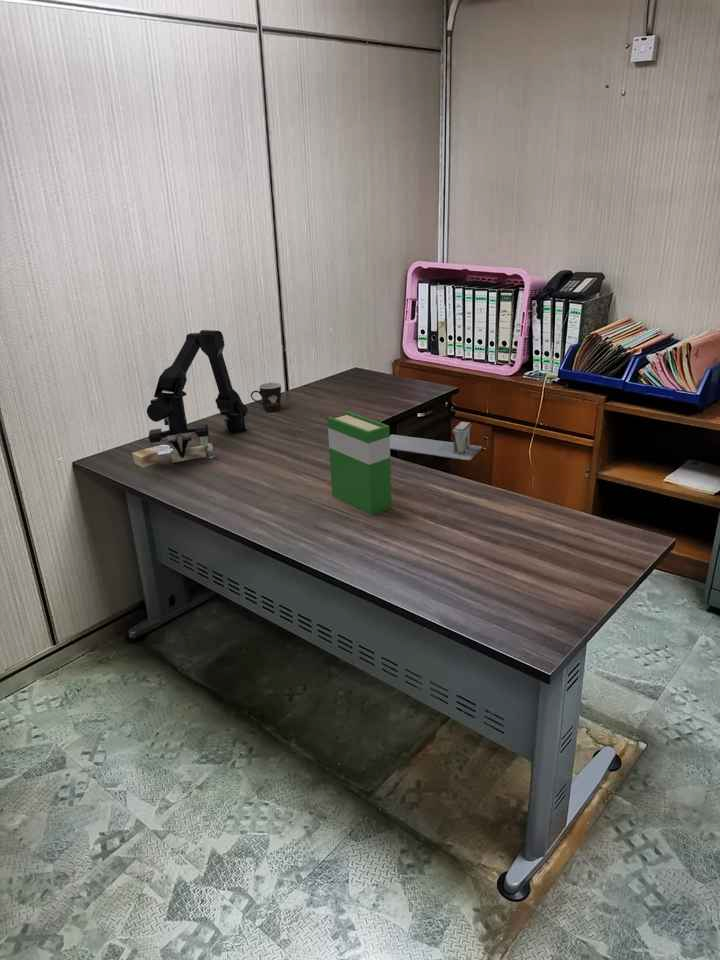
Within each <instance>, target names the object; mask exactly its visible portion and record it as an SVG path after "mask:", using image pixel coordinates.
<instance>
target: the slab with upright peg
mask: <svg viewBox="0 0 720 960" xmlns="http://www.w3.org/2000/svg"><path fill="white" fill-rule="evenodd" d="M471 427H472V424H471V422H466V421H460V422H459V423H458V424H457V425H456V426H455V427H454V428H453V429H452V433H453V442H450V441H444V440H435V439H431V438H429V439H428V438H423V437H414V436H408V435H407V436H406V435H398V434H390V450H393V451H402V452H406V453H413V454H420V455H421V454H422V455H428V456H436V457H443V458H449V459H450V458H451V459H456V460H463V461H471V460H472V459H473V458H474V457H475V456H476V454H477V453H479V452H480V450H481V449H482V447H483V446H482V445H481V446H480V445H473V444H470V438H471V437H470V436H471V433H470V431H471V429H470V428H471Z"/></svg>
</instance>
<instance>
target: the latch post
mask: <svg viewBox="0 0 720 960" xmlns="http://www.w3.org/2000/svg"><path fill="white" fill-rule="evenodd" d="M208 437H209V436H206V437H199V439H200V441H199V443H200V446H202V445H204V447H205V444H207V443H209V438H208Z"/></svg>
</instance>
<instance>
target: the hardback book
mask: <svg viewBox="0 0 720 960" xmlns="http://www.w3.org/2000/svg"><path fill="white" fill-rule="evenodd" d="M326 421H327V434H328V451H329V467H330V481H331V482H330V483H331V495H332V497H335V498H336V499H338V500H339V501H342V502H344V503H346V504H347V505H350V506H352V507H354V508H356V509H358V510H360V511H362V512H364V513H365V514H367V515H369V516H373V515H376V514H378V513H381V512H383V511H386V510H389V509H391V508H392V479H391V478H392V477H391V475H392V474H391V473H392V472H391V471H392V470H391V449H390V435H391V434H390V425H388V424H385V423H382V422H379V421H376V420H373V419H370V418H369V417H365V416H362V415H359V414H357V413H354V412H351V411H345V414H344V415H342V416H339V417H332V416H327V420H326Z"/></svg>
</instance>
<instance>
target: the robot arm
mask: <svg viewBox="0 0 720 960" xmlns="http://www.w3.org/2000/svg"><path fill="white" fill-rule="evenodd" d="M224 348H225V339H224V335H223V332H222V331H220V330H214V329H213V330H211V329H210V330H209V329H201V330H200V331H199V332H194V333H193V332H192V333H191V332H190V333H188V334H187V335H186V336H185V341H184V343H183V345H182V346H181V348H180V350H179V352H178V354H177V356H176V357H175V359H174V360H173V363H172V364H171V365H170V366H169V367H167V368H165V369H164V370H163V372H162V373H161V374H160V375H159V377H158V381H157V384H156V388H155V392H154V395H153V397H154V398H153V399H150V401H149V403H150V404H149V405H148V406H147V408H146V414H147V415H146V416H147V417H148V418H149V419H150V420H151V421H152V422H156V423H157V422H160V421H162V420H163V422H164V426H168V429H169V430H166V431H162V428H156V429H155V428H154V429H150V430H149V432H148V440H149V443H160V442H161V441H162V439H163V438H167V443H168V444H172V446H173V447H174V448H175V450H177V451H178V453H179V455H180V457H181V458H184V455H185V450H186V448H187V446H188V443H189V442H190V441H192V435H196V437H198V438H200V437H206V436H207V437H209V435H210V433H209V427H208V424H207V423H198V424H194V425H195V426H194V427H193V428H188V421H187V417H186V410H185V404H184V397H185V396H187V392H186V391H184V389H185V386H186V385H187V384H186V383H187V381H188V379H187V373H188V370H190V367H191V365H192V363H193V361H194V360H195V358H196V356H197V354H198V352H199V350H201V352H202V353H204V354H205V356H207V358H208V360H209V364H210V368H211V370H212V374H213V377H214V380H215V384H216V388H217V390H218V394H217V398H215V401H214V402H215V404H216V408H217V409H218V410H219V412H220V415H221V416H224V418H225V419H224V421H223V422H224V430H225V431H226V432H228V433H229V434H230V435H233V434H238V433H243V432H246V431H248V428H246V422H245V417H246V416H247V414H248V408H249V407H248V406H246V405H245V404H244V403H243V401H242V399H241V397H240V394H238V392H237V391H236V390H235V389H234V388H233V386H232V382H231V378H230V376H229V372H228V369H227V366H226V365H227V364H226V362H225V358H224V355H223V352H224ZM179 436H181V445H180V441H179ZM181 449H182V451H181ZM182 456H183V457H182Z"/></svg>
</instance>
